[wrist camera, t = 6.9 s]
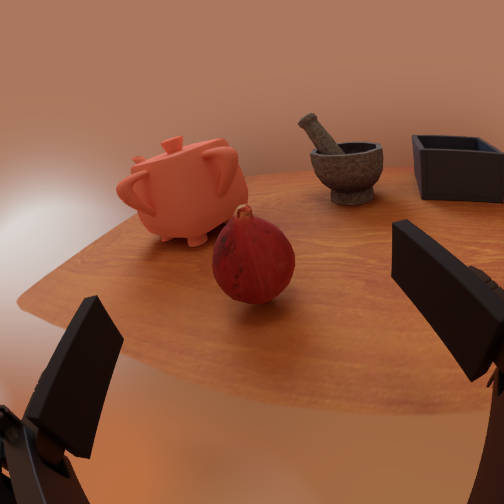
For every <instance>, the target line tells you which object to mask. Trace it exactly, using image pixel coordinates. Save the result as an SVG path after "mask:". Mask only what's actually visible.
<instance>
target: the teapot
mask: <svg viewBox="0 0 504 504" xmlns="http://www.w3.org/2000/svg"><path fill="white" fill-rule="evenodd" d="M182 143H183V136H177V137H173V138H171V139H167V140H165V141H163V142H162V143H161V146H162V147H163V148H164V150H165V151H166V152H165V153H163V154H160V155H158V156H156V157H153V158H150V159H148V160H146V159H145V158H144V157H142V156H137V157H133V158H132V160H133V161H134V162H135V163H136V165H134V166H132V168H131V175H130V176H128V177H126V178H124V179H123V180H122V181H120V182H119V184H118V185H117V188H116V191H117V194H118V196H119V197H120V199H121V200H122V201H123V202H124V203H125V204H127V205H128V206H130V207H132V208H134V209H136V210H137V211H138V214H139V217H140V220H141V222H142V223H143V225H144V226H145V227H146V228H147V230H148V231H149V232H151V233H154V234H157V235H160V236H162V238H161V241H163V242H165V241H169V240H172V239H174V238H175V237H176V238H187V239H188V245H189V246H190V247H195V246H199V245H201V244H203V243H205V242H206V241H207V240H208V237H207V235H206V233H207V232H209V231H211V230H212V229H214V228H215V227H217V226H218V225H220V224H222V223H224V224H226V223H229V221H230V220H231V218H232V216H233V214H234V212H235V211H236V209H237V207H238V206H240V205H244V204H247V203H248V189H247V185H246V182H245V179H244V176H243V173H242V171H241V168H240V166H239V164H238V154H237V152H236V151H235V149H233V148H231V147H229V144H228V143H227V141H226V140H225V139H224V138H218V139H213V140H208V141H204V142H199V143H195V144H191V145H187V146H183V147H182Z"/></svg>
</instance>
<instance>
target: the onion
mask: <svg viewBox="0 0 504 504" xmlns="http://www.w3.org/2000/svg"><path fill="white" fill-rule="evenodd" d="M212 267H213V273H214V277H215V279H216V281H217V283H218V285H219V286H220V287H221V289H222V290H223V291H224V292H225V293H226V294H227V295H228V296H229V297H231V298H232V299H233V300H237V301H241V302H244V303H248V304H265V303H268V302H270V301H271V300H272V299H273V298H275V297H276V296H278V295H279V294H280V293H281V292H282V291H283V290H284V289H285V288H286V287H287V285H288V284H289V283H290V280H291V278H292V275H293V271H294V268H295V254H294V252H293V249H292V246H291V244H290V243H289V241H288V239H287V238H286V236H285V235H284V234H283V232H282V231H281V230H280V229H279V228H278V227H276V226H275V225H273V224H272V223H270V222H268V221H266V220H264V219H261V218H258V217H255V216H253V215H252V209H251V207H249V206H248V205H247V204H244V205H240V206H238V207H237V209H236V211H235V212H234V214H233V216H232V218H231V220H230V221H229V223H228V224H227V225H226V226H225V227H224V228H223V229H222V231H221V232H220V234H219V236H218V238H217V240H216V242H215V245H214V249H213V263H212Z"/></svg>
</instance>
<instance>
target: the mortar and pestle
mask: <svg viewBox="0 0 504 504" xmlns="http://www.w3.org/2000/svg"><path fill="white" fill-rule="evenodd" d="M298 125H299V126H300V127H301V128H303V129H304V130H305V131H306V133H307V135H308V136H309V138H310V139H311V141H312V142H313V144H314V145H315V147H316V149H313V151H312V152H311V153H310V157H311V162H312V165H313V168H314V171H315V174H316V176H317V177H318V178H319V179H320V181H321V182H322V183H323V184H324V185H326V186H327V187H328V188H330V189H331V201H333V202H335V203H337V204H339V205H358V204H364V203H367V202H369V201H370V200H372V199H374V193H373V187H372V186H373V185H374V184H375V183H376V182H377V181H378V180H379V177H380V175H381V173H382V170H383V151H382V146H381V144H378V143H372V142H345V143H338V144H337V143H336V142H335V141H334V140H333V138H332V137H331V136H330V135H329V133H328V132H327V131H326V130H325V129H324V127H323V126H322V125H321V124H320V123H319V122H318V120H317V116H316V115H315V114H314V113H310V114H307V115H306V116H304V117H303V118H301V119H300V121H299V123H298Z"/></svg>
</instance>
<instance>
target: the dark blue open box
mask: <svg viewBox="0 0 504 504" xmlns="http://www.w3.org/2000/svg"><path fill="white" fill-rule="evenodd" d="M412 144H413V156H414V171H415V176H416V179H417V183H418V187H419V191H420V194H421V198H422V199H427V200H458V201H479V202H496V203H503V201H504V153H503V152H501V151H500V150H498V149H497V148H495V147H493V146H492V145H490V144H489V143H487V142H486V141H484V140H482V139H481V138H479V137H465V136H464V137H463V136H444V135H412Z"/></svg>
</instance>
